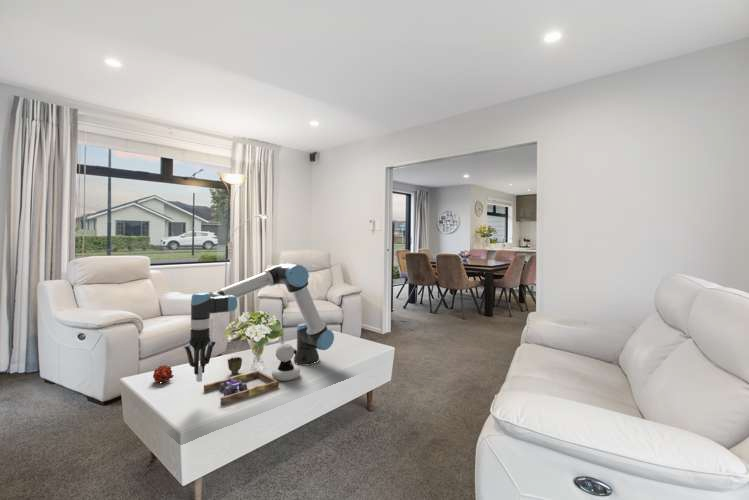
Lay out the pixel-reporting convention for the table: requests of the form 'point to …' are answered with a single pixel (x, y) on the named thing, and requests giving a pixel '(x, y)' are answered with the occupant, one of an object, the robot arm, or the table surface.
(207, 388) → the wooden tray
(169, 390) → the table surface
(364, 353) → the table surface
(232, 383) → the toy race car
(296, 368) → the decorative figurine
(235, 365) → the cup
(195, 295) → the robot arm
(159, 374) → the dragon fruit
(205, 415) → the table surface
